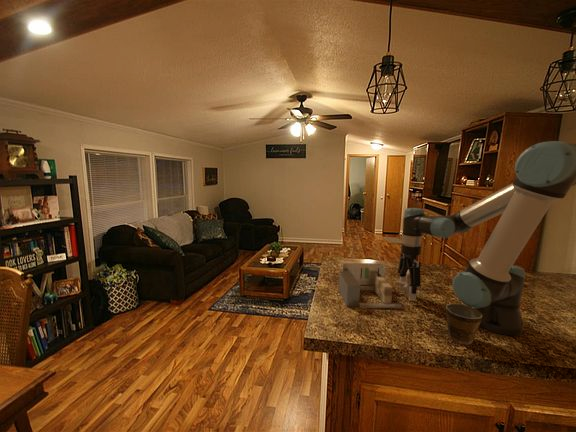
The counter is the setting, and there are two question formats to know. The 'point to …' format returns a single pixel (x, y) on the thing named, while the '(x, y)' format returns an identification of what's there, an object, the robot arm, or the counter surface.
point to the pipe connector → (406, 285)
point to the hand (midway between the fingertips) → (407, 295)
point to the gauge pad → (383, 289)
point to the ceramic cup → (462, 322)
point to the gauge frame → (361, 283)
